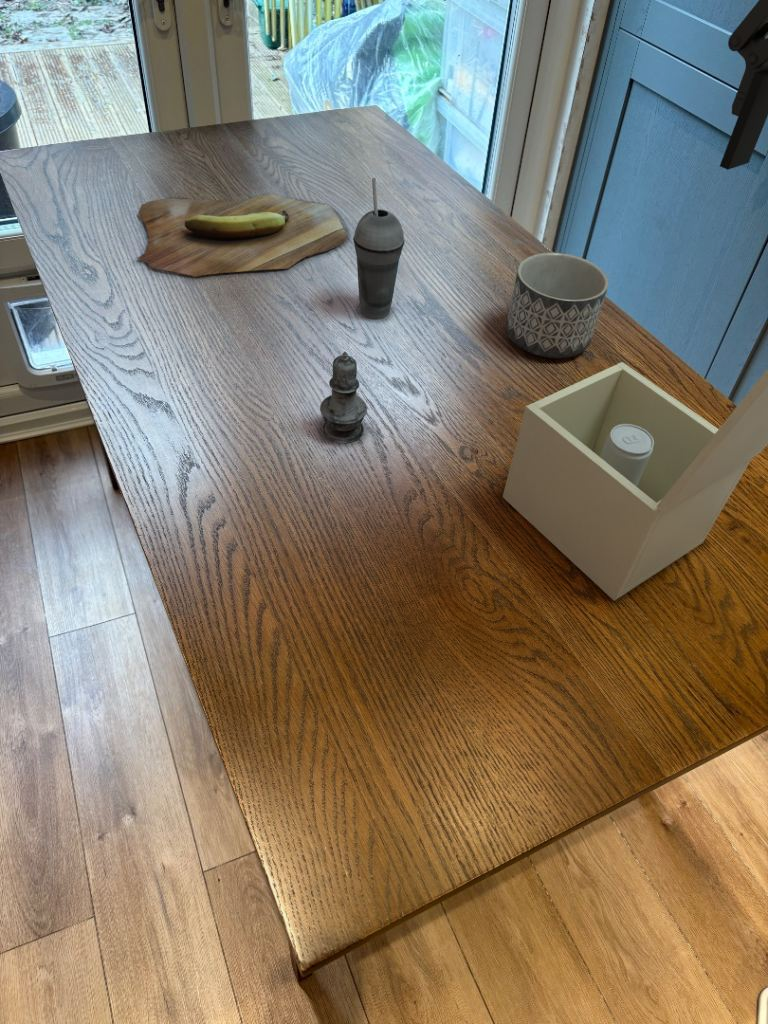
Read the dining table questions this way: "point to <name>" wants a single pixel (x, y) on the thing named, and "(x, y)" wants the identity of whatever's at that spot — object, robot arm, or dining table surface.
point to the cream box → (613, 478)
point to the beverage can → (628, 451)
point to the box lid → (727, 445)
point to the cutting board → (236, 234)
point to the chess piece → (343, 403)
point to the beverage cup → (377, 259)
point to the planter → (555, 304)
